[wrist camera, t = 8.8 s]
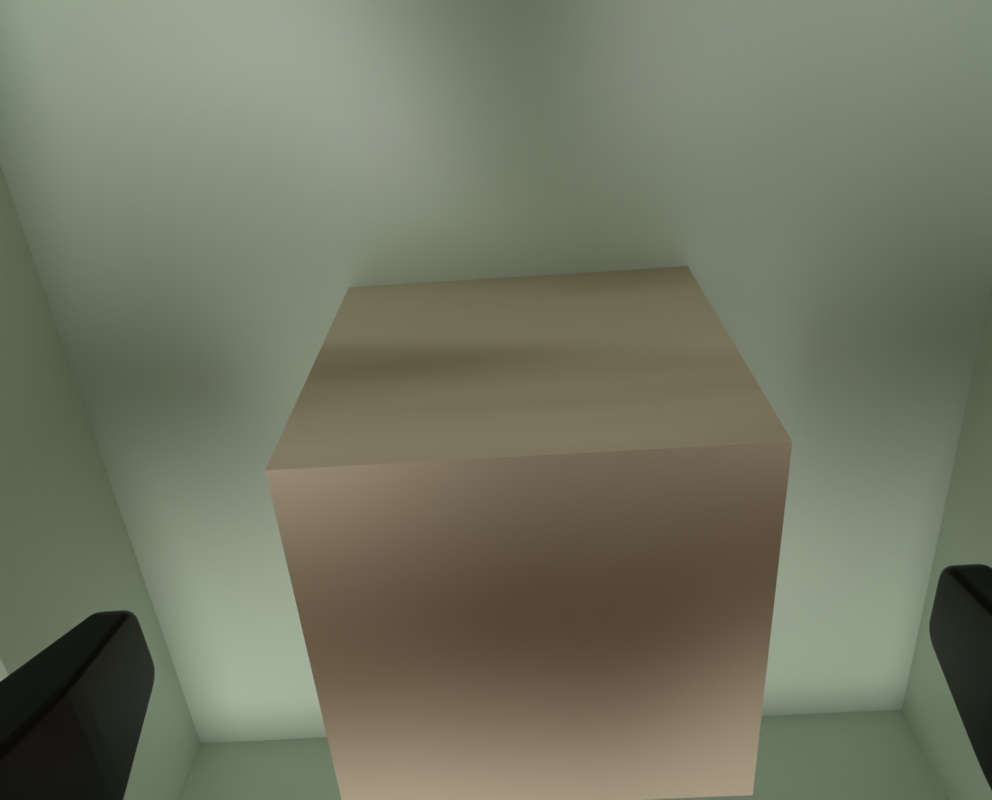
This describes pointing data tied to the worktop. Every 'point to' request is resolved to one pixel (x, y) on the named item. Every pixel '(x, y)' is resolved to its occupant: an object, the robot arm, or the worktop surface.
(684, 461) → the birch block
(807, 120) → the sage bin
